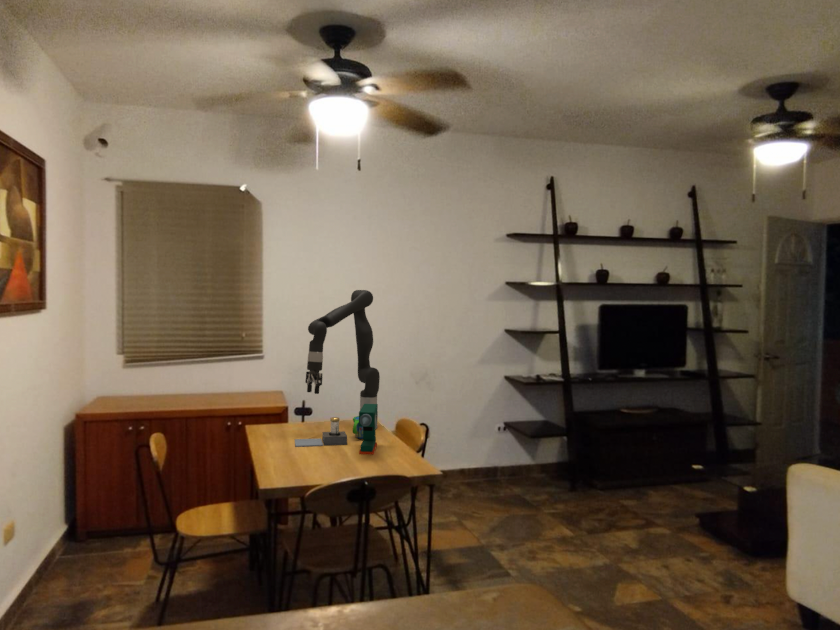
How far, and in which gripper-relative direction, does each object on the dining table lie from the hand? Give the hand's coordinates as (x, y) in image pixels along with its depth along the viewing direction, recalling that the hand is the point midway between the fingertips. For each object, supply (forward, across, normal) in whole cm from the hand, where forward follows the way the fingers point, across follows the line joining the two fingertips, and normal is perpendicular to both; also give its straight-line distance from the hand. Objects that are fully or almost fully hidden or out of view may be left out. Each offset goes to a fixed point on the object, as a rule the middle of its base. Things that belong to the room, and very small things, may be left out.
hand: (312, 393), depth 313 cm
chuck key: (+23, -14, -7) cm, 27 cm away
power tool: (+24, -39, -10) cm, 47 cm away
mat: (+24, -9, +5) cm, 26 cm away
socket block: (+23, -14, -7) cm, 27 cm away
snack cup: (+21, -12, -24) cm, 34 cm away
